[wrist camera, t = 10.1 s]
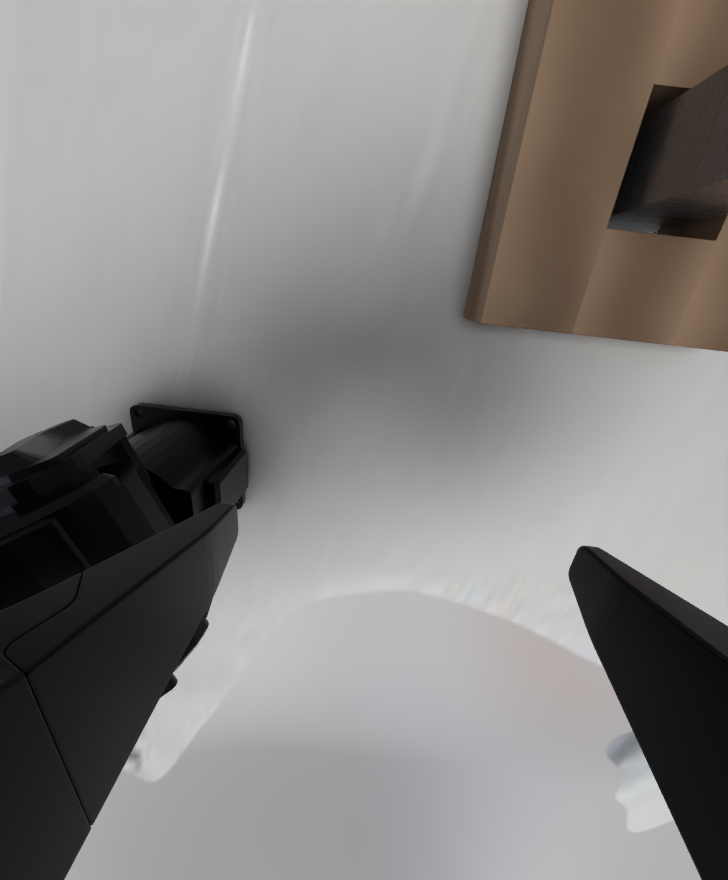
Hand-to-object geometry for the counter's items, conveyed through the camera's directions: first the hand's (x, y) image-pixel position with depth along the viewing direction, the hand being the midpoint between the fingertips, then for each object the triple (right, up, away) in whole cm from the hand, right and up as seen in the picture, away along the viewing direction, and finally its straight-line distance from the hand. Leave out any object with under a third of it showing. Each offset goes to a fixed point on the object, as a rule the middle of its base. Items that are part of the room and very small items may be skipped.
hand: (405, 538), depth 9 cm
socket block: (+11, +14, +7) cm, 19 cm away
